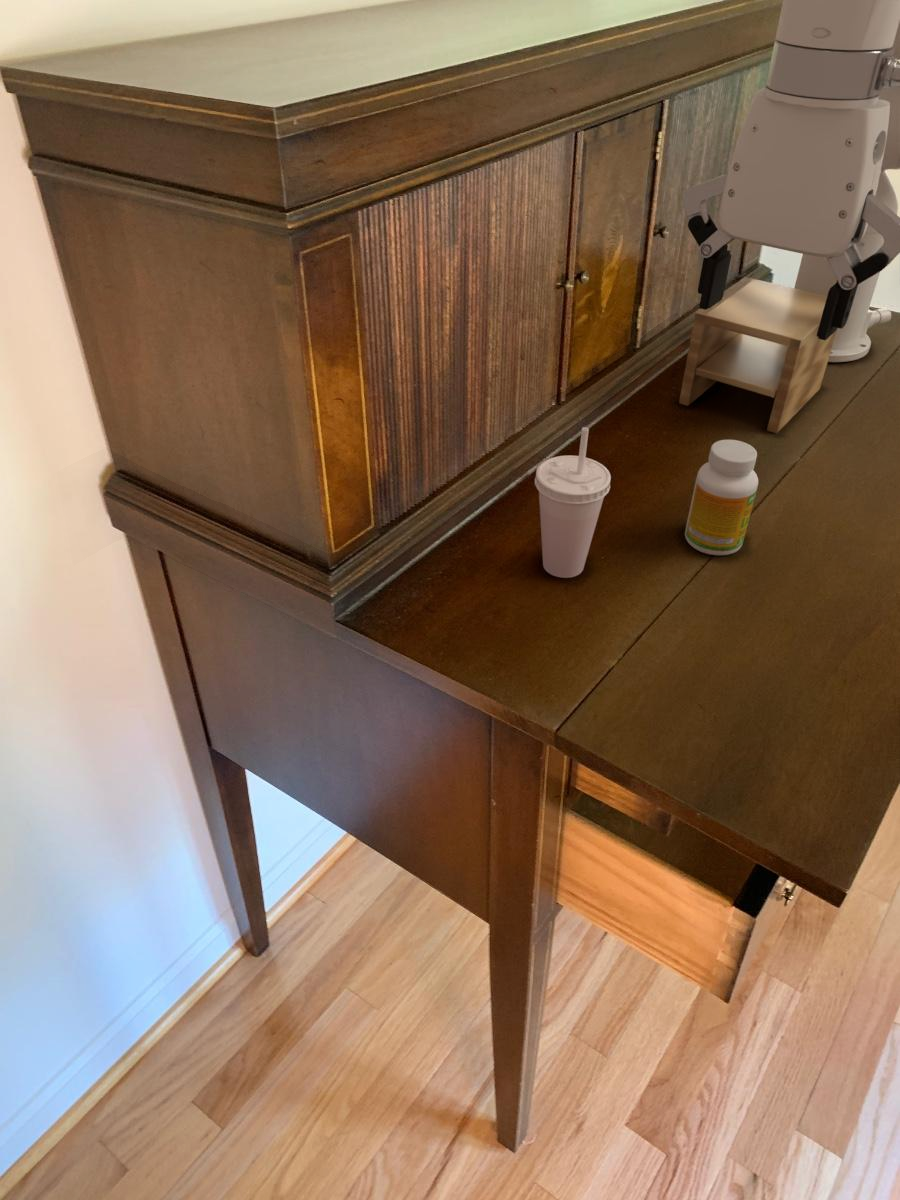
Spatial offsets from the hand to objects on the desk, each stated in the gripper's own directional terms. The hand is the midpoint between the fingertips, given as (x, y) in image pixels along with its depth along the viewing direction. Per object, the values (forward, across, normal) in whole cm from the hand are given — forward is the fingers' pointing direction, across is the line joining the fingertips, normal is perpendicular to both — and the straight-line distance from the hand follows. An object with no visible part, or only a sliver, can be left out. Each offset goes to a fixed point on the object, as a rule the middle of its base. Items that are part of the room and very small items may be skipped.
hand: (766, 318), depth 73 cm
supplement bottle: (+22, 0, 0) cm, 22 cm away
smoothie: (+22, +9, +12) cm, 27 cm away
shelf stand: (+21, +9, -31) cm, 38 cm away
